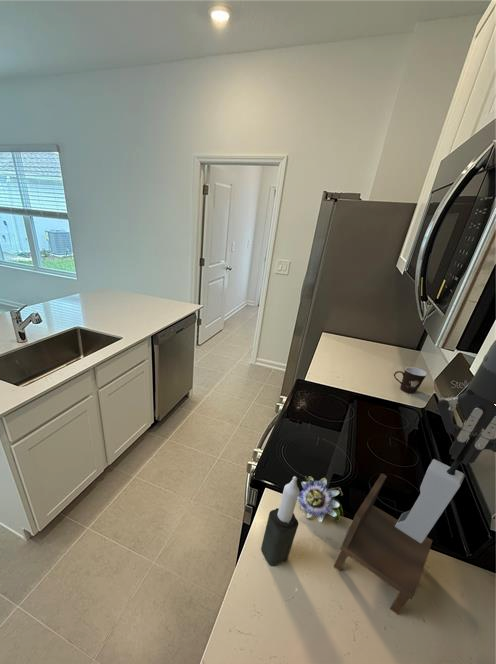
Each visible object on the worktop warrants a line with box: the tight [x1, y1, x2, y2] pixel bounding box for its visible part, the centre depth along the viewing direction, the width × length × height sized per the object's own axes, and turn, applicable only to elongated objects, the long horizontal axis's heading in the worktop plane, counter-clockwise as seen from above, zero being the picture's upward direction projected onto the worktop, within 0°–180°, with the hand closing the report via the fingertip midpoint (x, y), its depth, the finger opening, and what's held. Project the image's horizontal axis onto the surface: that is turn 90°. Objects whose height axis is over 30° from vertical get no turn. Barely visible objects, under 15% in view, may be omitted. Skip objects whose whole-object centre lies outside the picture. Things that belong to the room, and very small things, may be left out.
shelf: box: [333, 473, 433, 615], centre depth 66 cm, size 16×14×18 cm
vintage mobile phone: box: [395, 435, 477, 543], centre depth 56 cm, size 4×5×25 cm
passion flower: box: [297, 475, 344, 523], centre depth 81 cm, size 11×11×12 cm
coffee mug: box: [393, 366, 428, 395], centre depth 142 cm, size 12×9×10 cm
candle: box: [260, 475, 300, 567], centre depth 65 cm, size 5×5×25 cm
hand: (458, 458), depth 52 cm, fingers closed on vintage mobile phone, 1 cm apart
